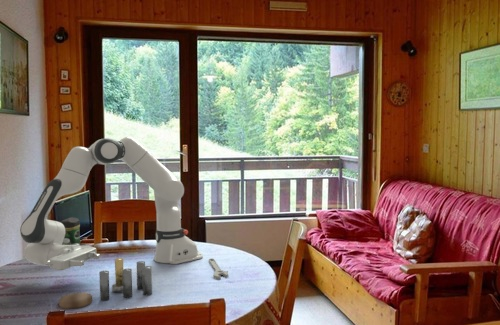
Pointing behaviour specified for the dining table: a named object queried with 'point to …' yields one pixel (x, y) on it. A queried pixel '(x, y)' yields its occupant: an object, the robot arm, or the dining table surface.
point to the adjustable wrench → (217, 270)
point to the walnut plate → (75, 300)
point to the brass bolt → (118, 276)
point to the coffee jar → (71, 231)
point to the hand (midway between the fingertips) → (91, 260)
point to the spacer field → (128, 281)
